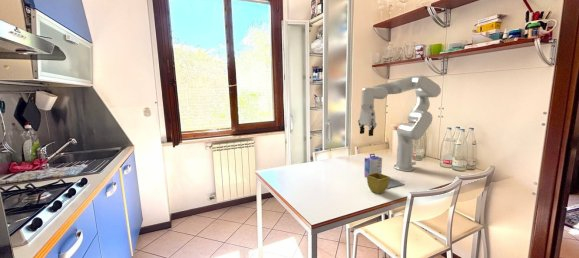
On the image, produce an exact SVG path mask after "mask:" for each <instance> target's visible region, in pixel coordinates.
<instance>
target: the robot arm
mask: <svg viewBox="0 0 579 258" xmlns="http://www.w3.org/2000/svg"><path fill="white" fill-rule="evenodd" d="M411 90H414V91H415V96H416V102H415V103H414V105H413V107H412V108H411V110H410V112H409V113H408V115H407V122H403V123H400V124H399V125H397V129H396V135H397V149H396V163H395V164H394V165H393V168H394V169H395V170H397V171H402V172H411V171H414V169H415V168H414V165H417V162H416V161H413V149H414V142H413V141H417V140H420V139H422V138H423V136H424V135H425V134H426V132H427V130H428V129H429V128H430V126H431V125H432V121H433V114H432V113H431V112H430V111H429V109H430V105H431V104H430V99H429V98H438V96H439V95H440V94H441V91H442V88H441V86H440V85H439V84H438V83H436V82H435V81H433V80H432V79H431V78H429V77H427V76H425V75H422V74H421V75H411V76H408V77H404V78H401V79H398V80H393V81H390V82H384V83H380V84H378V85H374V86H372V87H363V88H362V89H361V104H360V107H361V108H360V113H359V118H358V120H357V123H358V127H359V134H360V135H362V134H365V126H368V128H369V129H368V137H372V136H374V130H375V128H376V127H377V122H376V111H375V109H374V108H375V99H376V100H384V99H386V98H387V97H388V95H398V94H403V93H405V92H409V91H411Z"/></svg>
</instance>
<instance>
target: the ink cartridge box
mask: <svg viewBox="0 0 579 258" xmlns="http://www.w3.org/2000/svg"><path fill="white" fill-rule="evenodd" d="M382 162H383V158H382V157H380V156H376V154H375V153H370V154H369V157H365V158H364V171H363V172H364V174H363V175H364V177H365V178H367V175H369V174H372V173H380V174H382V171H383V170H382V165H383V163H382Z"/></svg>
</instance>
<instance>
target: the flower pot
mask: <svg viewBox="0 0 579 258" xmlns="http://www.w3.org/2000/svg"><path fill="white" fill-rule="evenodd" d="M390 178H391V176H388V175H386V174H384V173H381V174H380V173H372V174H369V175H367V177H366V180H367V181H366V182H367V186H368V188H369V190H370V191H371V192H374V193H376V194H378V195H379V194H382V193H385V192H386V190H388V189H387V187H388V184H389V180H390Z"/></svg>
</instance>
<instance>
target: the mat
mask: <svg viewBox="0 0 579 258" xmlns="http://www.w3.org/2000/svg"><path fill="white" fill-rule="evenodd" d="M401 186H405V184H404V182H401V181H399V180H395V179H394V178H391V177H390V180H389V184H388V187H387V189H386V190H389V189H392V188H397V187H401Z"/></svg>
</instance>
